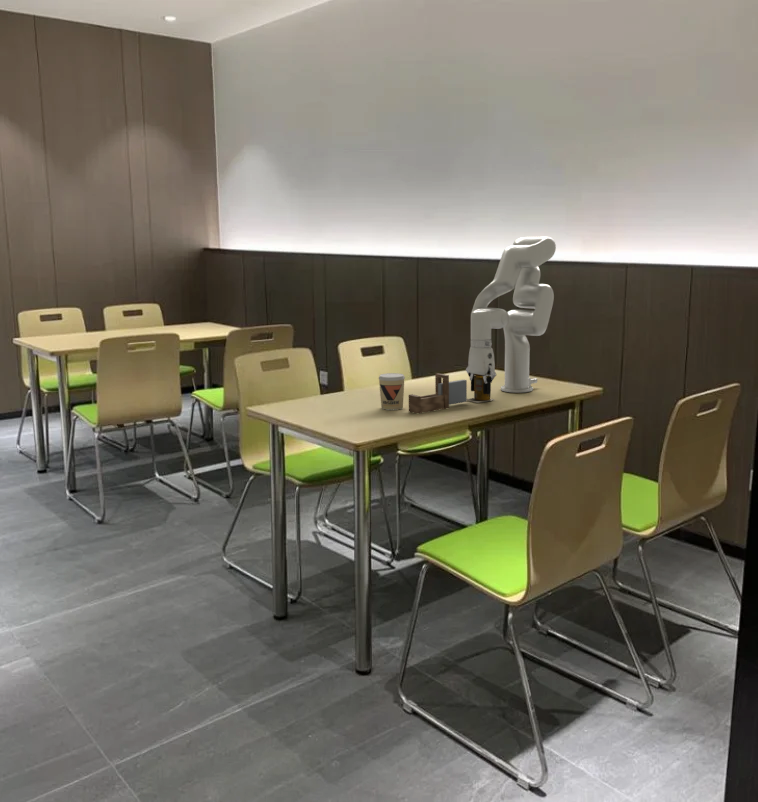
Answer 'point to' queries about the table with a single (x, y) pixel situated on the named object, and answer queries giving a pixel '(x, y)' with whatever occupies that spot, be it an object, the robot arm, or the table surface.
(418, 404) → the brown l-shaped block
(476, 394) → the condiment
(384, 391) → the coffee cup
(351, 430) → the table surface
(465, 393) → the gate
